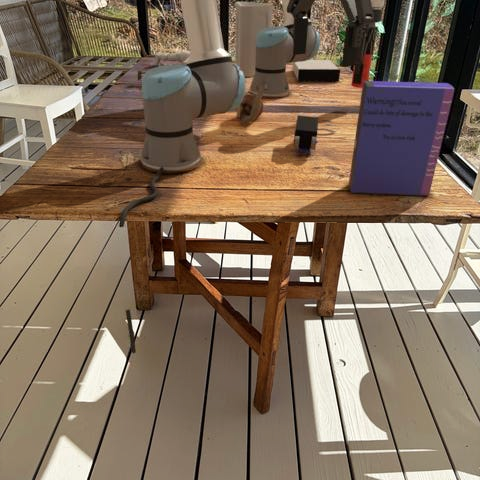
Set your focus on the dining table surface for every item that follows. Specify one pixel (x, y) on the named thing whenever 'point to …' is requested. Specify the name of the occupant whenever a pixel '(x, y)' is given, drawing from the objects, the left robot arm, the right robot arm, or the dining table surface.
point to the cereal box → (399, 137)
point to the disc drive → (316, 71)
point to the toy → (172, 57)
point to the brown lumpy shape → (250, 106)
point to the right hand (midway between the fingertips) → (359, 81)
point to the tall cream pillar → (250, 32)
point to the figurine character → (305, 134)
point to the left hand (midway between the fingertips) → (322, 59)
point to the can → (364, 70)
